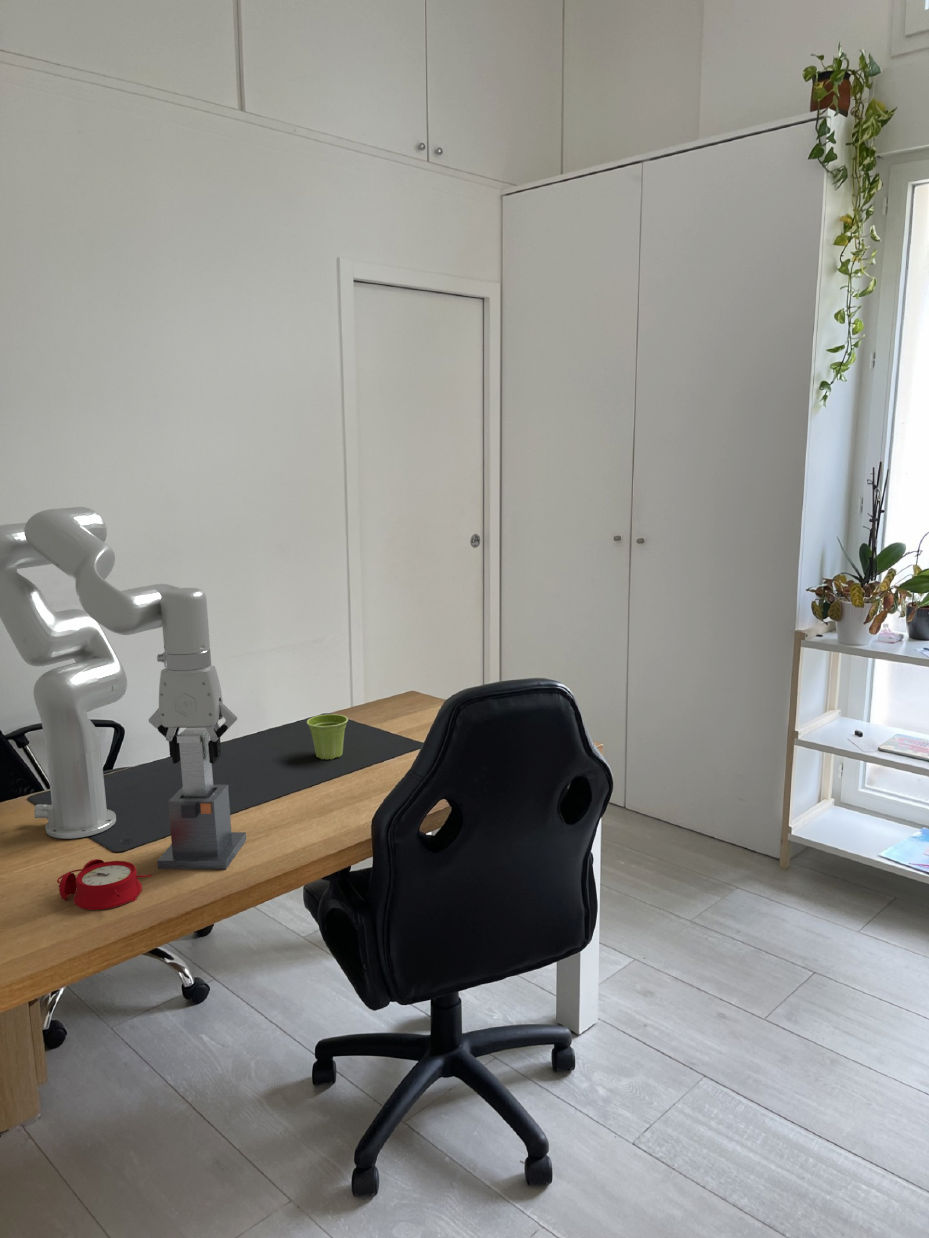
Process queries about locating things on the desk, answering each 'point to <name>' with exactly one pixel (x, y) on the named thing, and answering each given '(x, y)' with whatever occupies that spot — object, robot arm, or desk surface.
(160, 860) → the stand base
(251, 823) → the desk surface
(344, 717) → the plant pot
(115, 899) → the alarm clock
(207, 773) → the column
